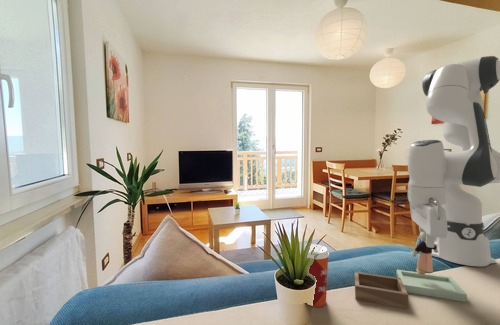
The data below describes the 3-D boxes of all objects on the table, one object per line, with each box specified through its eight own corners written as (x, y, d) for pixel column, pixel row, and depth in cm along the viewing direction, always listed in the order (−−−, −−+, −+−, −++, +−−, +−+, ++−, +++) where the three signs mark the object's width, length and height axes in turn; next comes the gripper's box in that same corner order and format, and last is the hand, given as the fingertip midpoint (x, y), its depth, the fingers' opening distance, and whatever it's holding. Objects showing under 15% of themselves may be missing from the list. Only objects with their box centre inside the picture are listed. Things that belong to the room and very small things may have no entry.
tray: (396, 275, 76) (396, 269, 76) (451, 283, 71) (451, 276, 71) (403, 291, 67) (403, 284, 67) (466, 302, 62) (466, 294, 62)
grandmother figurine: (422, 278, 68) (423, 237, 66) (409, 270, 71) (410, 231, 69) (441, 271, 70) (444, 230, 68) (428, 264, 74) (430, 225, 71)
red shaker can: (332, 311, 59) (331, 254, 59) (300, 308, 60) (299, 252, 60) (328, 294, 67) (327, 243, 67) (300, 291, 68) (299, 242, 68)
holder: (354, 283, 72) (354, 271, 72) (400, 290, 68) (400, 278, 68) (355, 299, 64) (355, 286, 64) (408, 308, 59) (408, 294, 59)
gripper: (455, 202, 58) (456, 259, 58) (428, 192, 77) (429, 235, 77) (424, 201, 60) (424, 256, 61) (405, 191, 79) (406, 233, 79)
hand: (427, 244), depth 69 cm, fingers closed on grandmother figurine, 3 cm apart
